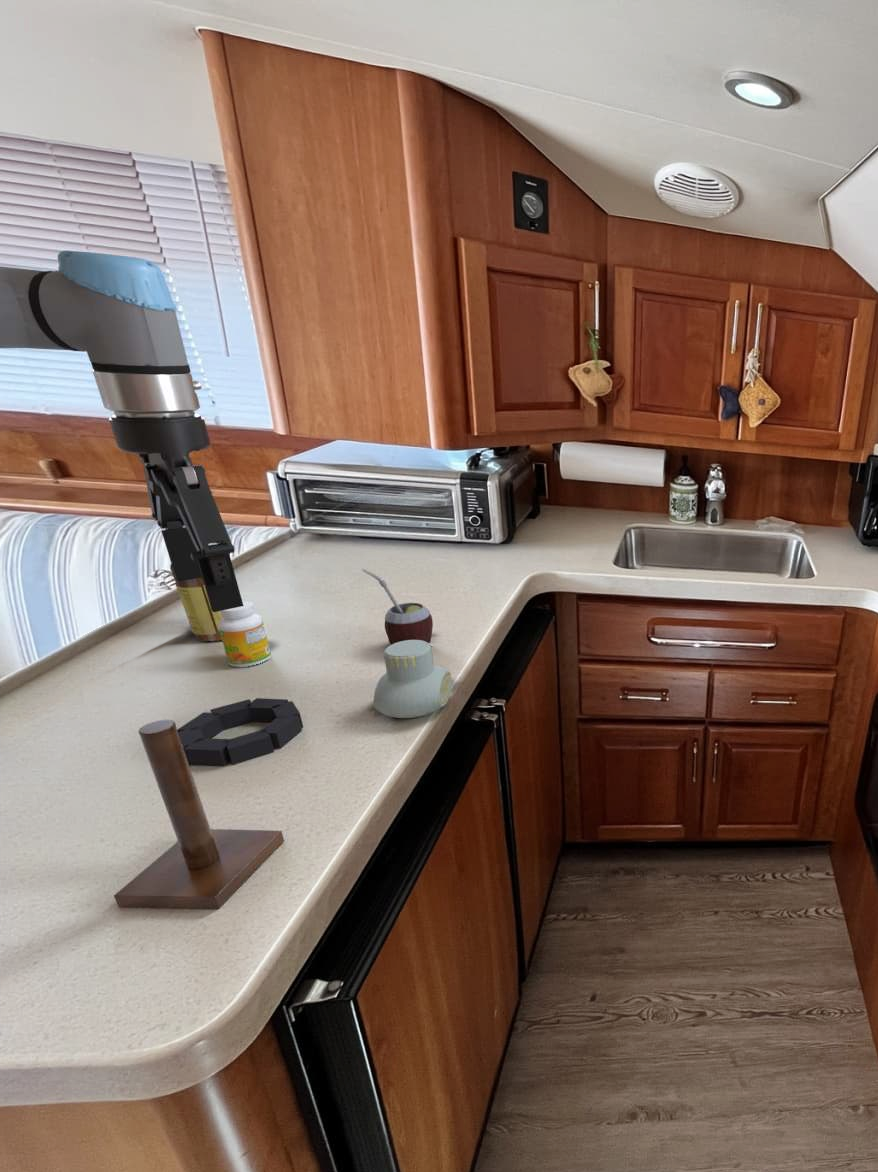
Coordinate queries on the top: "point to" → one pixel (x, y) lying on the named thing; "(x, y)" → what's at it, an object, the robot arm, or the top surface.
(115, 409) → the robot arm
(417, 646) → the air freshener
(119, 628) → the top surface
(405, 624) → the mate gourd
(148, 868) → the stand
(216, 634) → the sauce bottle
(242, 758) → the ring
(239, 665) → the supplement bottle
